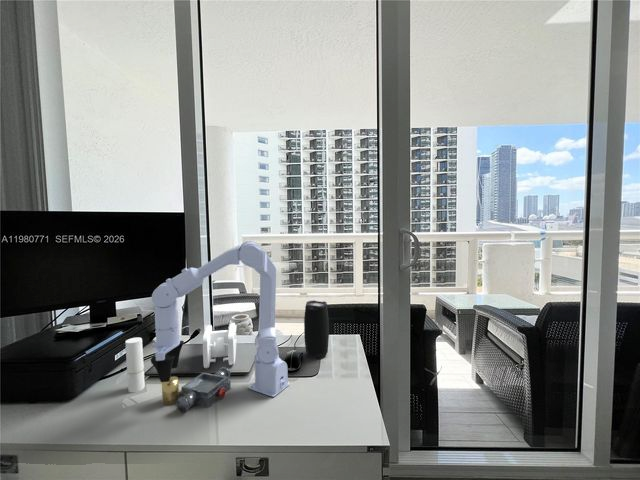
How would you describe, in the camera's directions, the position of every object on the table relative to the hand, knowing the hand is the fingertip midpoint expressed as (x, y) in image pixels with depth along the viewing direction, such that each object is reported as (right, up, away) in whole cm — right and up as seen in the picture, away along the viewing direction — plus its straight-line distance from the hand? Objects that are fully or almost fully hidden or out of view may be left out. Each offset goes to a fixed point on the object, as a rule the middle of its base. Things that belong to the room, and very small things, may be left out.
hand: (169, 374), depth 89 cm
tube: (-13, -8, +7) cm, 17 cm away
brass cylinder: (0, -8, +1) cm, 8 cm away
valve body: (+9, -7, +4) cm, 12 cm away
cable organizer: (+7, -6, +26) cm, 27 cm away
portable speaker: (+41, -5, +29) cm, 50 cm away
